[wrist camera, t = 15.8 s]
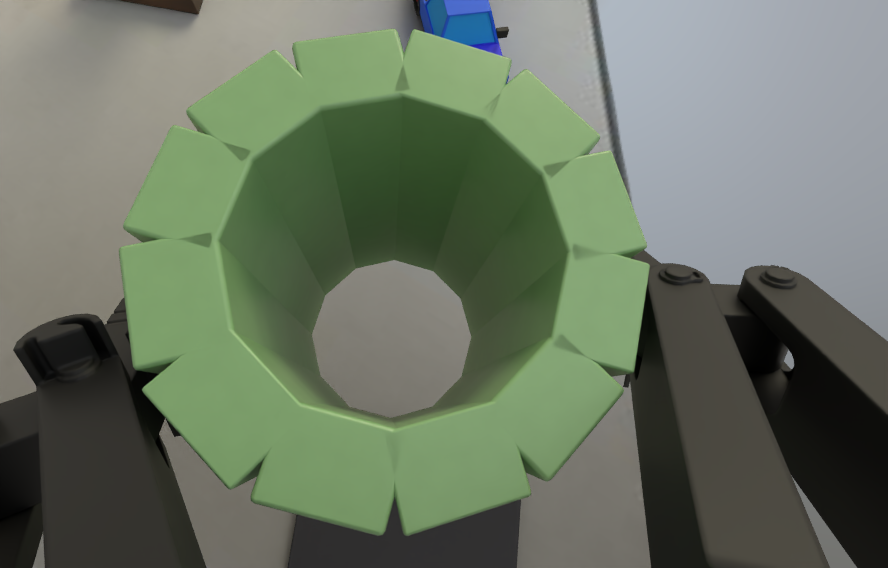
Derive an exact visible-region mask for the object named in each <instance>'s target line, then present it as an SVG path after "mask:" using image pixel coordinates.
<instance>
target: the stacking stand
mask: <svg viewBox="0 0 888 568" xmlns="http://www.w3.org/2000/svg"><path fill="white" fill-rule="evenodd" d="M122 1H127V2H133V3H139V4H144V5H150V6H156V7H161V8H167V9H173V10H178V11H184V12H190V13H195V14H199V11H200V7H201V4H202V1H203V0H122Z"/></svg>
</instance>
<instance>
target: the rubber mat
mask: <svg viewBox="0 0 888 568" xmlns="http://www.w3.org/2000/svg"><path fill="white" fill-rule="evenodd" d="M520 505H521V499H520V500H517V501H514V502H511V503H508V504H505V505H502V506H498V507H495V508H492V509H489V510H486V511H483V512H480V513H477V514H474V515H471V516H468V517H465V518H462V519H458V520H455V521H452V522H449V523H446V524H443V525H440V526H437V527H434V528H431V529H428V530H425V531H422V532H418V533H415V534H412V535H409V536H405V535H404V533H403V530H402V526H401V521H400V517H399V512H398V508H397V504H396V499H395V497H394V501H393V505H392V509H391V512H390V516H389V520H388V523H387V527H386V531H385V532H384V534H383V535H380V536H377V535H373V534H369V533H365V532H362V531H358V530H354V529H350V528H346V527H343V526H339V525H335V524H331V523H327V522H324V521H320V520H316V519H312V518H308V517H305V516H301V515H297V518H296V523H295V529H294V535H293V540H292V546H291V552H290V557H289V563H288V568H517V552H518V536H519V521H520Z"/></svg>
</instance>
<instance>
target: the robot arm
mask: <svg viewBox="0 0 888 568" xmlns="http://www.w3.org/2000/svg"><path fill="white" fill-rule="evenodd" d="M631 259H634V260H638V261H641V262H644V263H648V264H649V265H650V268H649V275H648V282H647V288H646V295H645V302H644V309H643V315H642V322H641V329H640V335H639V342H638V349H637V355H636V362H635V369H634V372H633V373H632V374H626V377H625V381H624V386H623V387H628V386H629V383H631V392H632V401H633V410H634V419H635V428H636V436H637V445H638V454H639V463H640V472H641V481H642V489H643V498H644V507H645V516H646V525H647V533H648V542H649V551H650V560H651V568H830V567H829V564H828V562H827V560H826V557H825V555H824V552H823V550H822V548H821V545H820V543H819V541H818V538H817V536H816V533H815V531H814V529H813V527H812V524H811V522H810V519H809V517H808V514H807V512H806V510H805V507H804V505H803V502H802V500H801V498H800V495H799V493H798V491H797V488H796V486H795V483H794V481H793V479H792V477H793V478H794V480H795V481H796V482H797V484H798V485H799V487H800V488H801V489H802V491H803V492H804V494H805V495H806V496H807V498H808V499H809V501H810V502H811V503H812V505H813V506H814V508H815V509H816V510H817V512H818V513H819V515H820V516H821V517H822V519H823V520H824V521H825V523H826V524H827V526H828V527H829V529H830V530H831V531H832V533H833V534H834V536H835V537H836V538H837V540H838V541H839V543H840V544H841V545H842V547H843V548H844V549H845V551H846V552H847V554H848V555H849V557H850V558H851V559H852V561H853V562H854V564H855V565H856V566H857V568H888V341H886V340H885V339H884V338H882V337H881V336H880V335H879V334H877V333H876V332H875V331H873V330H872V329H871V328H870V327H869V326H867V325H866V324H865V323H864V322H862V321H861V320H859V318H857V317H856V316H855V315H853V314H852V313H851V312H850V311H848V310H847V309H846V308H845V307H843V306H842V305H841V304H840V303H838V302H837V301H836V300H834V299H833V298H832V297H831V296H829V295H828V294H827V293H826V292H824V291H823V290H822V289H820V288H819V287H818V286H817V285H815V284H814V283H813V282H812V281H810V280H809V279H808V278H806V277H804V276H802V275H801V274H799V273H797V272H794V271H791V270H789V269H788V268H785V267H779V266H774V265H771V266H762V265H761V266H754V267H750V268H749V269H747V270H745V273H744V276H743V279H742V282H741V285H724V284H710V281H709V279H708V278H707V277H706V276H705V275H704V274H703V273H701V272H700V271H698V270H696V269H694V268H691V267H688V266H685V265H679V264H673V263H672V264H671V263H670V264H669V263H668V264H661V263H659V262H658V261H657V260H656V259H654V258H653V257H652V256H651V255H649V254H648V253H647V252H645V251H644V250H643V251H641V252H640V253H638V254H636V255H635V256H633V257H632V258H631ZM788 349H789V351H790V352H791V353H792V356H793V359H794V368H793V369H790V368H789V367H788V366H787V364H786V363H785V362H784V359H785V356H786V354H787V351H788ZM14 352H15V353H16V355H17V357H18V358H19V360H20V361H21V363H22V364H23V366H24V367H25V369H26V371H27V372H28V374H29V375H30V377H31V378H32V380H33V381H34V383H35V384H36V389H37V391H36V392H33V393H31V394H28V395H25V396H22V397H19V398H16V399H13V400H10V401H7V402H4V403H1V404H0V568H32V567H33V564H34V560H35V557H36V553H37V550H38V547H39V543H40V540H41V536H42V533H43V537H44V558H45V568H206V565H205V562H204V559H203V556H202V553H201V550H200V548H199V545H198V542H197V539H196V536H195V533H194V530H193V527H192V524H191V521H190V518H189V515H188V512H187V509H186V506H185V503H184V500H183V497H182V494H181V492H180V489H179V486H178V483H177V480H176V477H175V474H174V471H173V468H172V465H171V462H170V459H169V456H168V453H167V450H166V447H165V445H164V443H163V441H162V439H161V437H160V435H159V432H160V430H161V427H162V425H163V422H164V420H165V417H164V416H163V414H162V413H161V412H160V411H159V410H158V409H157V408H156V407H155V405H154V404H153V403H152V402H151V401H150V400H149V399H148V398H147V396H146V395H145V394H144V393H143V391H142V389H143V387H144V386H146V385H147V384H148V383H149V382H150V381H152V380H153V379H154V378H155V377H156V376H158V375H159V374H157V373H151V372H145V371H139V370H135V369H134V367H133V363H132V355H131V347H130V339H129V330H128V322H127V314H126V306H125V298H123V299H122V300H121V302H120V303H119V305H118V306H117V308H116V309H115V311H114V314H112V315H111V316H110V318H109V319H108V321H107V324H105V325H104V324H103V322H102V320H101V319H100V318H99V317H98V316H96V315H91V314H75V315H70V316H66V317H62V318H58V319H55V320H52V321H50V322H47V323H45V324H42V325H40V326H38V327H37V328H35V329H33V330H31V331H30V332H28V333H26V334H25V335H24V336H23V337H22V338H21V339H20V340H19V341H17V343H16V345H15V347H14ZM166 420H167V419H166ZM167 423H168V425H169V427H170V429H171V431H172V433H173V435H174V437H175V436H181V435H180V434H179V433H178V431H177V430H176V429H175V428H174V427H173V426H172V425H171V424H170V422H169V421H168V420H167ZM791 475H792V476H791Z"/></svg>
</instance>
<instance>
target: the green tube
mask: <svg viewBox="0 0 888 568" xmlns="http://www.w3.org/2000/svg"><path fill="white" fill-rule="evenodd" d="M292 50H293V54H294V59H295V63H296V67H297V69H296V68H295V67H294V66H293V65H292V64H291V63H290V62H288V61H287V60H286V59H285V58H284V57H283V56H282V55H281V54H280V53H279V52H278V51H277V50H273V51H271V52H270V53H268V54H267V55H265V56H264V57H262V58H261V59H259V60H258V61H256V62H255V63H253V64H252V65H250V66H249V67H248V68H246V69H245V70H243V71H242V72H240V73H239V74H237V75H236V76H234V77H233V78H231V79H230V80H228V81H227V82H225V83H224V84H223V85H221V86H220V87H218V88H217V89H215V90H214V91H212V92H211V93H209V94H208V95H206V96H205V97H203V98H202V99H201V100H199V101H198V102H196V103H195V104H193V105H192V106H190V107H189V108H188V109H187V110H186V112H187V115H188V117H189V118H190V120H191V121H192V123H193V124H194V126H195V127H196V129H197V130H198V132H197V131H193V130H190V129H187V128H183V127H180V126H176V125H173V126H172V127H171V128H170V130H169V132H168V134H167V136H166V138H165V140H164V142H163V144H162V147H161V149H160V151H159V153H158V155H157V157H156V159H155V161H154V163H153V165H152V167H151V169H150V171H149V173H148V175H147V177H146V179H145V181H144V183H143V185H142V187H141V189H140V191H139V194H138V196H137V198H136V200H135V202H134V204H133V206H132V208H131V210H130V212H129V214H128V216H127V218H126V220H125V222H124V225H123V228H124V229H125V230H126V231H127V232H128V233H130V234H131V235H133V236H134V237H136V238H137V239H139V240H140V241H142V242H143V243H138V244H133V245H128V246H123V247H121V248H120V249H119V257H120V265H121V273H122V281H123V290H124V298H125V306H126V314H127V322H128V330H129V339H130V347H131V355H132V363H133V367H134V369H135V370H139V371H145V372H151V373H157V374H159V375H158V376H156V377H155V378H154V379H153V380H152V381H150V382H149V383H148V384H147V385H146V386H144V387H143V389H142V391H143V393H144V394H145V395H146V396H147V398H148V399H149V400H150V401H151V402H152V403H153V404H154V405H155V407H156V408H157V409H158V410H159V411H160V412H161V413H162V414H163V416H164V417H165V418H166V419H167V420H168V421H169V422H170V424H171V425H172V426H173V427H174V428H175V429H176V430H177V431H178V433H179V434H180V435H181V436H182V437H183V438H184V439H185V441H186V442H187V443H188V444H189V445H190V446H191V447H192V448H193V450H194V451H195V452H196V453H197V454H198V455H199V456H200V457H201V459H202V460H203V461H204V462H205V463H206V464H207V465H208V467H209V468H210V469H211V470H212V471H213V472H214V473H215V474H216V476H217V477H218V478H219V479H220V480H221V481H222V482H223V484H224V485H225V486H226V487H227V488H228V489H233V488H235V487H237V486H239V485H241V484H243V483H245V482H247V481H249V480H251V479H253V478H255V477H257V479H256V482H255V485H254V488H253V490H252V493H251V501H252V502H253V503H255V504H259V505H263V506H266V507H270V508H274V509H278V510H282V511H285V512H289V513H293V514H297V515H301V516H305V517H308V518H312V519H316V520H320V521H324V522H327V523H331V524H335V525H339V526H343V527H346V528H350V529H354V530H358V531H362V532H365V533H369V534H373V535H377V536H380V535H383V534H384V532H385V531H386V527H387V523H388V520H389V516H390V512H391V509H392V505H393V501H394V497H395V499H396V504H397V508H398V512H399V517H400V521H401V526H402V530H403V533H404V535H405V536H409V535H412V534H415V533H418V532H422V531H425V530H428V529H431V528H434V527H437V526H440V525H443V524H446V523H449V522H452V521H455V520H458V519H462V518H465V517H468V516H471V515H474V514H477V513H480V512H483V511H486V510H489V509H492V508H495V507H498V506H502V505H505V504H508V503H511V502H514V501H517V500H520V499H523V498H526V497H529V496H530V495H531V489H530V486H529V482H528V479H527V476H526V473H529V474H531V475H533V476H535V477H538V478H540V479H542V480H544V481H550V480H551V479H552V478H553V477H554V476H555V475H556V473H557V472H558V471H559V470H560V469H561V467H562V466H563V465H564V464H565V463H566V461H567V460H568V459H569V458H570V457H571V455H572V454H573V453H574V452H575V451H576V449H577V448H578V447H579V446H580V445H581V443H582V442H583V441H584V440H585V439H586V437H587V436H588V435H589V434H590V433H591V431H592V430H593V429H594V428H595V427H596V425H597V424H598V423H599V422H600V421H601V419H602V418H603V417H604V416H605V415H606V413H607V412H608V411H609V410H610V409H611V407H612V406H613V405H614V404H615V403H616V401H617V400H618V399H619V398H620V397H621V395H622V394H623V391H624V390H623V388H622V387H621V386H620V385H619V384H618V383H617V382H616V381H615V380H614V379H613V378H612V376H619V375H625V374H632V373H633V372H634V369H635V362H636V355H637V349H638V342H639V335H640V329H641V322H642V315H643V309H644V302H645V295H646V288H647V282H648V275H649V268H650V265H649V264H648V263H644V262H641V261H638V260H634V259H631V258H632V257H633V256H635V255H636V254H638V253H640V252H641V251H643V250H644V249H645V248H646V247H647V244H646V241H645V238H644V236H643V233H642V230H641V228H640V225H639V222H638V220H637V217H636V215H635V212H634V209H633V207H632V204H631V201H630V199H629V196H628V194H627V191H626V188H625V186H624V183H623V180H622V178H621V175H620V173H619V170H618V167H617V165H616V162H615V159H614V157H613V154H612V152H611V151H604V152H599V153H594V154H589V152H590V151H591V150H592V149H593V147H594V146H595V145H596V144H597V142H598V141H599V139H600V135H599V134H598V133H597V132H596V131H595V130H594V129H593V128H592V127H590V126H589V125H588V124H587V123H586V122H585V121H584V120H583V119H582V118H581V117H579V116H578V115H577V114H576V113H575V112H574V111H573V110H572V109H571V108H570V107H568V106H567V105H566V104H565V103H564V102H563V101H562V100H561V99H560V98H559V97H557V96H556V95H555V94H554V93H553V92H552V91H551V90H550V89H549V88H548V87H546V86H545V85H544V84H543V83H542V82H541V81H540V80H539V79H538V78H537V77H535V76H534V75H533V74H532V73H531V72H530V71H529V70H527V69H525V70H523V71H522V72H520V73H519V74H518V75H517V76H516V77H515V78H513V79H512V80H511V81H510V82H509V83H507V84H506V82H507V78H508V74H509V71H510V67H511V63H512V61H511V59H510V58H507V57H503V56H500V55H497V54H494V53H490V52H487V51H484V50H481V49H477V48H474V47H471V46H468V45H464V44H461V43H458V42H455V41H451V40H448V39H445V38H442V37H439V36H435V35H432V34H429V33H426V32H422V31H419V30H416V29H413V31H412V32H411V35H410V38H409V41H408V44H407V47H406V50H405V53H404V52H403V48H402V45H401V41H400V38H399V34H398V32H397V31H396V29H387V30H380V31H373V32H365V33H358V34H351V35H343V36H336V37H329V38H321V39H314V40H307V41H299V42H295V43H293V47H292ZM588 154H589V155H588ZM391 260H397V261H400V262H404V263H407V264H411V265H414V266H417V267H421V268H424V269H428V270H431V271H434V272H435V273H436V274H437V275H438V276H439V277H440V278H441V279H442V280H443V281H444V282H445V283H446V284H447V285H448V286H449V287H450V288H451V289H452V290H453V291H454V292H455V293H456V294H457V295H458V296H459V297H460V298H461V301H462V305H463V308H464V312H465V316H466V319H467V323H468V326H469V330H470V333H471V341H470V345H469V349H468V353H467V357H466V361H465V365H464V369H463V373H462V377H461V378H460V379H459V380H458V381H457V382H456V383H455V384H454V385H453V386H452V387H451V388H450V389H449V390H448V391H447V392H446V393H445V394H444V395H443V396H442V397H441V398H440V399H439V400H438V401H437V402H436V403H435V405H434V406H433V407H429V408H426V409H422V410H418V411H415V412H411V413H408V414H404V415H401V416H397V417H393V418H389V417H385V416H381V415H378V414H374V413H370V412H367V411H363V410H359V409H356V408H352V407H349V406H348V405H347V404H346V402H345V401H344V400H343V399H342V398H341V397H340V396H339V395H338V394H337V393H336V392H335V391H334V390H333V389H332V388H331V387H330V385H329V384H328V383H327V382H326V381H325V380H324V379H323V378H322V377H321V376H320V372H319V367H318V362H317V358H316V353H315V348H314V343H313V338H312V332H313V329H314V326H315V323H316V321H317V318H318V315H319V312H320V309H321V306H322V303H323V300H324V297H325V295H326V294H327V293H328V292H330V291H331V290H332V289H333V288H334V287H335V286H336V285H337V284H339V283H340V282H341V281H342V280H343V279H344V278H345V277H347V276H348V275H349V274H350V273H351V272H352V271H353V270H355V269H356V268H360V267H364V266H369V265H373V264H378V263H382V262H387V261H391Z"/></svg>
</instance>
